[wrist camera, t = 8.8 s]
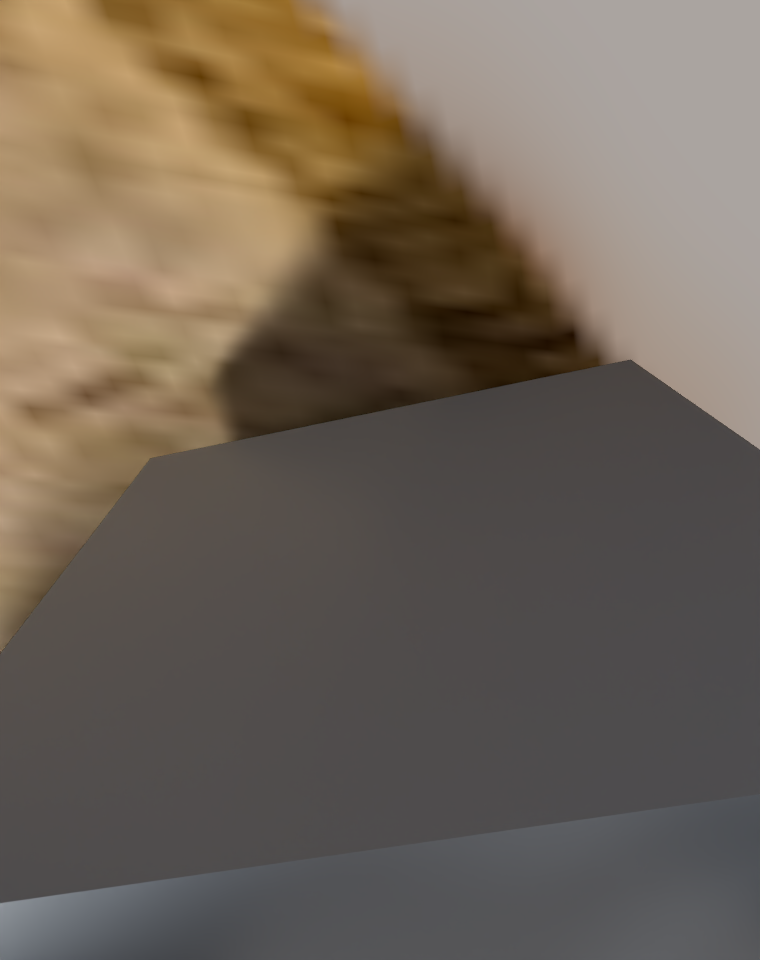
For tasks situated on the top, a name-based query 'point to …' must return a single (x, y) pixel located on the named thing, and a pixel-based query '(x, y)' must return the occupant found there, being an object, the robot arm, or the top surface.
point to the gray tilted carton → (402, 694)
